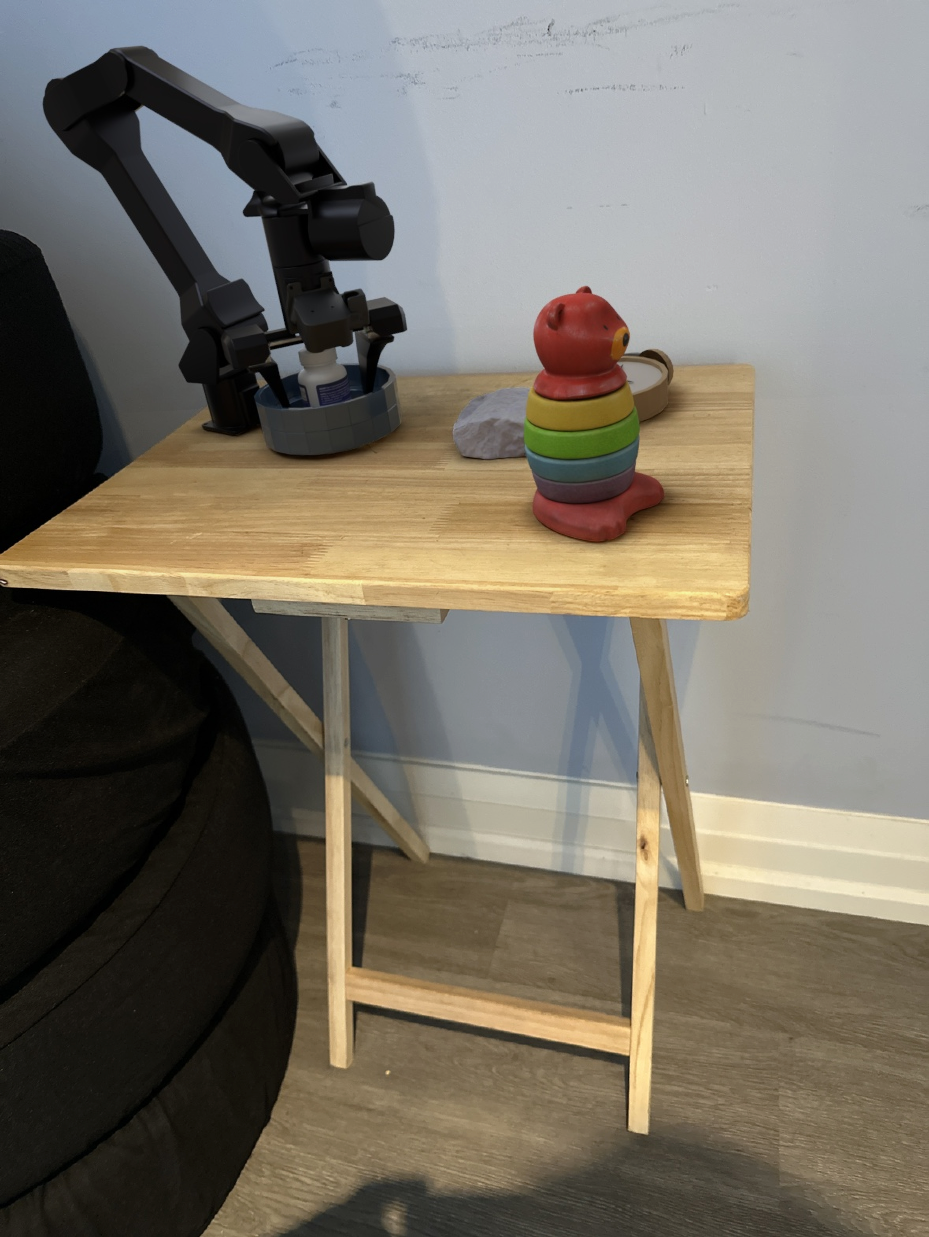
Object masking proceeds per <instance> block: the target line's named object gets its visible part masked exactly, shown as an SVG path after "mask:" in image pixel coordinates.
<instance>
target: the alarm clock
mask: <svg viewBox="0 0 929 1237" xmlns="http://www.w3.org/2000/svg"><path fill="white" fill-rule="evenodd" d="M617 364H618V365H619V366H620V367H621V368H622V369H623V370H624V371H625V373H626V375H627V381H628V383H629V386H630V389H631V392H632V396H633V400H634V406H635V407H636V410H637V414H638V419H639V422H642V421H645V420H648V419H651V418H653V417H654V416H656V415H658V414H660V413H661V412H662V411H663V410H665V408H666V407H667V406H668V404H669V398H670V397H669V396H670V395H669V386H670V384H672V383H671V382H672V380H673V378H674V364H673V362H672V360H671V358H670V357H669V356H668V354H667V353H665V352H664V351H663V350H661V349H658V348H647V349H645V350H643V351H641V352H637V351H636V352H625V353H624V355H623V356H622V357H621V358H620V359H619V361H618V362H617Z"/></svg>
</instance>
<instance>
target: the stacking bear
mask: <svg viewBox="0 0 929 1237" xmlns="http://www.w3.org/2000/svg"><path fill="white" fill-rule="evenodd" d="M532 335H533V336H532V337H533V344H534V349H535V352H536V355H537V358H538V360H539V362H540V363H541V365H542V366H543V369H542V370H541V371H540V372H538V374H537V376H536V377H535V379H534V381H533V385H532V386H531V387H530V388H531V389H530V391H529V394H528V399H527V405H526V417H525V422H524V442H525V452H526V456H525V457H526V460H527V462H528V466H529V469H530V471H531V475H532V478H533V480H534V484H535V485H536V489H535V492H534V495H533V499H532V513H533V515H534V516H535V518H536V519H537V520H538V521H539V522H540V523H541V524H543V525H544V526H546V527H547V528H549V529H551V530H553V531H555V532H557V533H559V534H562V535H565V536H568V537H571V538H575V539H577V540H578V539H579V540H583V541H589V542H590V541H591V542H605V541H610V540H611V541H612V540H614V539H616V538H618V537H619V536H621V535H623V534H624V533H625V532H626V531H627V521H628V519H629V518H630V517H631V516H632V515H633V514H635V513H637V512H639V511H642V510H645V509H648V508H651V507H654V506H657V505H658V504H659V503H660V502H661V501H662V500H663V499H664V498H665V490H664V487H663V485H662V483H661V482H660V481H659V480H658V479H657V478H655V477H653V476H651V475H649V474H645V473H642V472H638V471H636V468H637V467H636V466H637V459H638V456H639V448H640V438H641V436H640V432H641V426H640V421H639V419H638V414H637V410H636V407H635V406H634V400H633V396H632V392H631V389H630V386H629V383H628V381H627V375H626V373H625V371H624V370H623V369H622V368H621V367H620V366H619V365H618V364H617V362H618V361H619V359H620V358H621V357H622V356H623V355H624V353H626V351H627V349H628V346H629V343H630V339H631V333H630V329H629V327H628V324H627V323H626V322H625V320H624V319H623V318H622V317H621V315H620V314H619V313H618V312H617V310H616V309H615V308H614V307H613V305H612V304H611V303H610V302H609V301H608V300H606V298H603V297H602V296H600V295H599V294H598V295H597V294H596V293H593V290H592V288H591V287H590V286H588V285H584V286H581V287H579V288H578V289H576V290H575V292H574V293H567V294H562V295H560V296H557V297H555V298H553V299H552V300H549V302H547V303H546V304H545V305H544V306H543V307H542V309H540V312H539V313H538V314H537V317H536V319H535V322H534V325H533V333H532Z"/></svg>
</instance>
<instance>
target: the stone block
mask: <svg viewBox="0 0 929 1237" xmlns="http://www.w3.org/2000/svg"><path fill="white" fill-rule="evenodd" d="M530 389H531V387H525V386H518V387H517V386H516V387H515V386H513V387H503V388H500V389H496V390H495V391H492V392H486V393H483V394H482V395H477V396H475V397H474V398H472V399H470V400H469V401H468V404H467V405H465V407H463V408H462V410H461V411H460V413H459V415H458V417H457V419H456V422H455V423H454V424H453V427H452V439H453V443H454V445H455V447H456V449H457V451H458V453H460V454H461V456H463V457H469V458H474V459H475V458H476V459H481V460H493V459H494V460H495V459H503V458H520V457H527V456H526V452H525V442H524V422H525V417H526V405H527V399H528V394H529V391H530Z"/></svg>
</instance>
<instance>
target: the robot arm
mask: <svg viewBox="0 0 929 1237" xmlns="http://www.w3.org/2000/svg"><path fill="white" fill-rule="evenodd" d="M143 107H145V108H147V109H148V110H150V111H152V112H154V113H155V114H157V115H159V116H160V117H162V118H164V119H165V120H167V121H169V122H171V123H172V124H174V125H176V126H178V127H179V128H180V129H182V130H184V131H186V132H188V133H189V134H191V135H192V136H194V137H196V138H198V139H199V140H201V141H202V142H204V143H206V144H208V145H209V146H211V147H212V148H214V149H215V150H216V151H217V152H218V153H219V154H220V155H221V157H222V159H223V161H224V163H225V165H226V167H227V169H228V170H230V171H231V172H232V173H233V174H234V175H235V176H236V177H238V179H240V180H241V181H243V182H244V183H245V184H246V185H247V186H248V187H249V188H251V189H252V190H253V191H252V195H251V197H250V200H249V201H248V202H247V204H246V205H245V206H244V207H243V209H242V215H243V216H244V217H245V218H259V217H260V218H261V223H262V227H263V232H264V237H265V241H266V245H267V250H268V254H269V260H270V263H271V268H272V273H273V278H274V282H275V287H276V291H277V296H278V300H279V305H280V310H281V314H282V320H283V324H284V327H282V328H281V327H280V328H277V329H273V330H272V329H271V330H269V329H270V328H269V325H268V322H267V319H266V317H265V315H264V313H263V312H265V311H266V310H265V307H263V306H262V305H261V304H260V302H259V301H258V300H257V299H256V297H255V295H254V293H253V292H252V290H251V287H250V285H249V284H248V282H246V281H245V279H244V278H238V279H236V280H233V281H231V280H229V279H228V278H226V277H225V276H223V275H221V274H220V273H219V272H218V271H217V269H216V268H215V266H214V264H213V263H212V261H211V260H210V258H209V256H208V255H207V253H206V251H205V250H204V248H203V247H202V245H201V243H200V242H199V240H198V239H197V237H196V235H195V233H194V232H193V231H192V228H191V227H190V226H189V223H187V221H186V219H185V217H184V216H183V214H182V213H181V211H180V210H179V208H178V206H177V205H176V203H175V201H174V200H173V198H172V197H171V195H170V194H169V192H168V190H167V189H166V187H165V185H164V183H163V181H161V179H160V177H159V176H158V174H157V173H156V171H155V169H154V168H153V166H152V164H151V163H150V161H149V159H148V158H147V156H146V155H145V153H144V151H143V148H142V135H141V121H140V119H139V117H138V114H137V112H138V111H140V109H142V108H143ZM42 111H43V114H44V117H45V120H46V122H47V124H48V126H49V128H51V130H52V131H53V132H54V134H55V135H56V136H57V137H58V139H59V140H60V141H61V143H62V144H63V145H64V146H65V147H66V149H67V151H69V152H70V154H71V155H73V156H74V157H75V158H77V159H78V160H80V161H81V162H83V163H85V164H86V165H88V166H89V167H90V168H92V169H94V170H95V171H96V172H98V173H99V174H100V175H101V176H102V177H103V178H104V180H105V182H106V183H107V185H108V187H109V188H110V190H111V191H112V193H113V195H114V196H115V197H116V199H117V201H118V203H119V204H120V206H121V207H122V209H123V210H124V212H125V214H126V215H127V216H128V218H129V220H130V221H131V223H132V225H133V226H134V228H135V229H136V231H137V233H138V234H139V235H140V237H141V239H142V240H143V241H144V243H145V245H146V246H147V248H148V249H149V251H150V252H151V254H152V256H153V257H154V259H155V260H156V263H158V265H159V267H160V268H161V270H162V271H163V273H164V275H165V276H166V278H167V279H168V281H169V283H170V284H171V285H172V287H173V289H174V291H175V292H176V294H177V296H178V299H179V313H180V324H181V328H182V329H183V331H184V333H185V335H186V337H187V340H188V343H187V345H186V348H185V349H184V352H183V353H182V356H181V359H179V361H178V364H177V366H178V369H179V371H180V373H181V374H182V376H183V378H184V380H185V382H186V383H188V384H198V385H199V384H201V385H202V389H203V390H202V391H203V394H204V397H205V400H206V403H207V404H206V405H207V407H208V412H209V416H210V420H209V421H206V422H204V423H202V424H201V428H202V430H207V431H213V432H217V433H223V434H227V435H230V436H237V435H240V434H243V433H245V432H246V431H249V430H251V429H253V428H255V427H258V426H261V423H260V419H259V415H258V411H257V407H256V402H255V398H254V395H255V394H256V393H257V391H258V390H259V389H260V388H261V387H260V384H259V383H258V379H257V375H256V374H259V375H260V376H261V377H262V378H263V380H264V381H265V382H266V384H268V385H269V387H270V389H271V390H272V392H273V394H274V395H275V397H276V399H277V400H278V402H279V404H280V406H281V407H282V408H291V405H290V403H289V400H288V397H287V394H286V391H285V388H284V385H283V383H282V380H281V377H282V376H281V373H280V369H279V363H278V362H276V361H275V359H274V358H273V357H272V356H271V355H272V351H274V350H279V349H283V348H287V347H292V346H296V345H302V344H304V347H305V348H306V349H307V351H309V352H311V353H321V352H323V351H324V350H326V349H330V348H346V347H347V348H348V347H351V345H352V344H354V340H355V346H356V353H357V360H358V362H357V363H359V369H360V377H361V384H362V389H363V393H364V395H366V394H369V393H371V392H373V388H374V382H375V376H376V370H377V365H379V361H380V358H381V355H382V352H383V351H384V349H385V348H386V346H387V345H389V344H392V343H393V342H394V341H395V336H394V335H396V334H401V333H405V332H406V331H408V325H407V318H406V313H405V311H404V308H403V307H402V306H401V305H400V304H399V303H396V301H394V300H391V299H389V298H388V297H386V296H383V297H378V298H374V299H369V300H367V296H366V294H365V292H364V290H363V288H360V287H359V288H355V289H351V290H345V291H344V292H343V293H340V292H339V290H338V288H337V286H336V282H335V277H334V275H333V271H332V270H331V266H330V265H331V264H330V262H372V261H373V262H377V261H378V262H379V261H384V260H385V259H386V258H387V257H389V255H390V253H391V251H392V249H393V246H394V243H395V234H396V228H395V220H394V216H393V214H391V211H390V209H389V207H388V205H387V203H386V202H385V200H384V199H383V198H382V197H380V196H379V195H377V192H376V184H375V183H374V182H373V181H363V182H358V183H354V184H348V183H347V181H346V179H345V178H344V177H343V176H342V174H341V173H340V172H339V171H338V169H337V168H336V166H335V165H334V163H333V162H332V161H331V160H330V158H329V157H328V156H327V154H326V153H325V152H324V150H323V149H322V148H321V146H320V145H319V143H318V142H317V141H316V137H315V131H314V130H313V129H312V127H311V126H310V125H309V124H308V123H306V121H304V120H302V119H300V118H297V117H294V116H292V115H288V114H285V113H282V112H279V111H275V110H270V109H264V108H258V107H252V106H249V105H246V104H242V103H240V102H239V101H236V100H235V99H233V98H232V97H230V96H228V95H226V94H224V93H222V92H221V91H219V90H217V89H216V88H214V87H212V86H210V84H207V83H205V82H203V81H202V80H200V79H198V78H196V77H195V76H193V75H191V74H189V73H188V72H186V71H184V70H182V69H181V68H179V67H177V66H176V65H175V64H172V63H170V62H168V61H167V60H165V59H163V58H162V57H160V56H159V55H158V53H157V52H156V51H155V50H153V49H152V48H149V47H148V46H144V45H133V46H122V47H113V48H109V50H108V51H106V52H105V53H103V54H101V56H100V57H99V58H97V59H96V60H94V61H93V62H91V63H90V64H88V65H85V66H83V67H82V68H80V69H77V70H76V71H74V72H71V73H70V74H68V75H66V76H64V77H57V78H56V77H55V78H51V80H49V81H48V82H47V84H46V86H45V89H44V96H43V98H42ZM354 338H355V339H354Z"/></svg>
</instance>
